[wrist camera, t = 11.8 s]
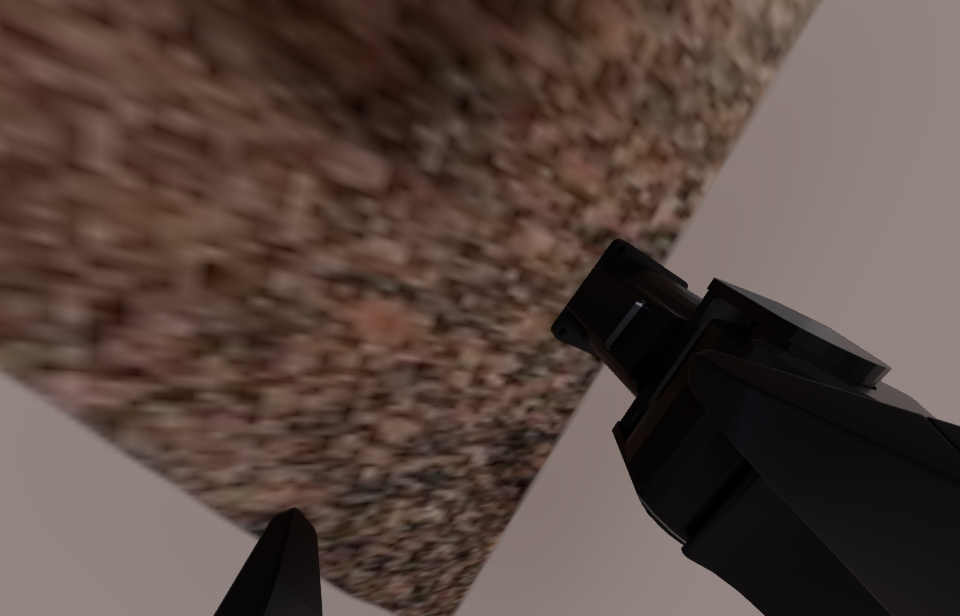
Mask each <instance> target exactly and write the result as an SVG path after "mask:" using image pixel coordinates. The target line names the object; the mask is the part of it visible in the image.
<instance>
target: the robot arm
mask: <svg viewBox="0 0 960 616" xmlns="http://www.w3.org/2000/svg"><path fill="white" fill-rule="evenodd" d="M620 246H621V249H620V250H619V251H618V252H617V249H618V248H619V247H620ZM687 288H688V284H687V283H686V282H685V281H684V280H682V279H681V278H679V277H678V276H676V275H675V274H673V273H672V272H670V271H669V270H667V269H666V268H665V267H663V266H662V265H660V264H659V263H657V262H656V261H654V260H653V259H651V258H650V257H648V256H647V255H645V254H644V253H642V252H641V251H639V250H638V249H637V248H635V247H634V246H632V245H631V244H629V243H628V242H626V241H624V240H622V239H616V240H614V241H613V242H612V243H611V244H610V246H609V247H608V248H607V250H606V251H605V253H604V254H603V255H602V257H601V258H600V259H599V261H598V262H597V264H596V265H595V266H594V268H593V269H592V271H591V272H590V273H589V275H588V276H587V278H586V279H585V280H584V282H583V283H582V285H581V286H580V287H579V289H578V290H577V291H576V293H575V294H574V296H573V297H572V298H571V300H570V301H569V303H568V304H567V305H566V307H565V308H564V310H563V311H562V312H561V314H560V315H559V317H558V318H557V319H556V321H555V322H554V323H553V325H552V327H551V332H552V334H553V335H554V336H555V337H556V338H558V339H560V340H562V341H564V342H566V343H569V344H571V345H573V346H575V347H578V348H580V349H582V350H584V351H587V352H589V353H591V354H593V355H596V356H598V357H600V358H601V360H602V361H603V362H604V363H605V364H606V365H607V366H608V367H609V368H610V369H611V370H612V372H613V373H614V374H615V375H616V376H617V377H618V378H619V379H620V380H621V382H623V384H624V385H625V386H626V387H627V388H628V389H629V390H630V391H631V393H632V394H633V395H634V396H635V397H636V399H635V400H634V402H633V403H632V405H631V406H630V408H629V409H628V411H627V412H626V414H625V415H624V417H623V418H622V419H621V421H618V422H617V423H616V425H615V426H614V428H613V429H612V432H613V434H614V437H615V439H616V442H617V444H618V447H619V449H620V452H621V455H622V457H623V459H624V462H625V465H626V467H627V470H628V472H629V475H630V477H631V480H632V482H633V485H634V487H635V490H636V493H637V495H638V497H639V499H640V501H641V503H642V505H643V506H644V508H645V509H646V512H647V513H648V514H649V516H650V517H652V518H653V519H654V521H655V522H656V523H657V524H658V525H659V526H660V527H661V528H662V529H663V530H665V532H667V533H668V534H669V535H670V536H671V537H673V538H674V539H675V540H677V541H678V542H680V543H681V544H683V547H682V548H681V550H682V552H683V554H684V555H685V556H686V557H687V558H689V559H690V560H692V561H694V562H696V563H697V564H699V565H701V566H703V567H704V568H706V569H708V570H710V571H712V572H713V573H715V574H716V575H717V576H719V577H720V578H721V579H723V580H724V581H725V582H727V583H728V584H729V585H731V586H732V587H734V588H735V589H736V590H737V591H739V592H740V593H741V594H742V595H743V596H744V597H745V598H746V599H747V600H749V601H750V602H751V603H752V604H753V605H754V606H755V607H756V608H757V609H758V610H759V611H760V612H762V613H763V614H764V615H765V616H960V426H958V425H954V424H951V423H948V422H945V421H942V420H938V419H936V418H935V417H934V416H932V415H931V414H930V413H929V412H928V411H927V410H926V409H925V408H923V407H922V406H921V405H920V404H919V403H917V401H915V400H914V399H913V398H911V397H910V396H908V395H906V394H904V393H902V392H901V391H899V390H897V389H895V388H893V387H891V386H889V385H887V384H885V383H883V382H881V379H882V378H883V377H884V376H885V375H886V374H887V373H888V372H889V371H890V370H891V367H889V366H888V365H887V364H885V363H884V362H882V361H880V360H879V359H877V358H876V357H874V356H873V355H871V354H870V353H868V352H867V351H865V350H863V349H862V348H860V347H859V346H857V345H856V344H854V343H852V342H851V341H849V340H848V339H846V338H845V337H843V336H841V335H840V334H838V333H837V332H835V331H834V330H832V329H831V328H829V327H827V326H825V325H823V324H821V323H819V322H817V321H815V320H813V319H811V318H809V317H807V316H805V315H803V314H801V313H799V312H797V311H795V310H792V309H790V308H788V307H786V306H784V305H782V304H780V303H778V302H776V301H773V300H771V299H768V298H765V297H763V296H760V295H758V294H755V293H753V292H750V291H748V290H745V289H743V288H740V287H738V286H735V285H732V284H730V283H727V282H725V281H722V280H719V279H717V278H714V279H713V280H712V282H711V283H710V285H709V286H708V288H707V289H708V292H707V293H706V295H705V296H704V298H703V299H702V298H700V297H698V296H697V295H695V294H693V293H692V292H690V291H689V290H687ZM560 328H562V330H561V331H558V330H559V329H560ZM214 616H322V598H321V584H320V569H319V555H318V540H317V534H316V531H315V529H314V527H313V526H312V525H311V523H310V522H309V521H308V520H307V518H306V517H305V516H304V515H303V514H302V512H301V511H300V510H299V509H298V508H291V509H288V510H285V511H283V512H280V513H278V514H276V515H275V516H274V517H273V518H272V519H271V521H270V522H269V524H268V526H267V527H266V529H265V531H264V532H263V534H262V536H261V537H260V539H259V541H258V542H257V544H256V546H255V547H254V549H253V551H252V552H251V554H250V556H249V557H248V559H247V561H246V562H245V564H244V566H243V567H242V569H241V571H240V572H239V574H238V576H237V577H236V579H235V581H234V582H233V584H232V586H231V587H230V589H229V591H228V593H227V594H226V596H225V597H224V599H223V601H222V602H221V604H220V606H219V607H218V609H217V611H216V612H215V614H214Z"/></svg>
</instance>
